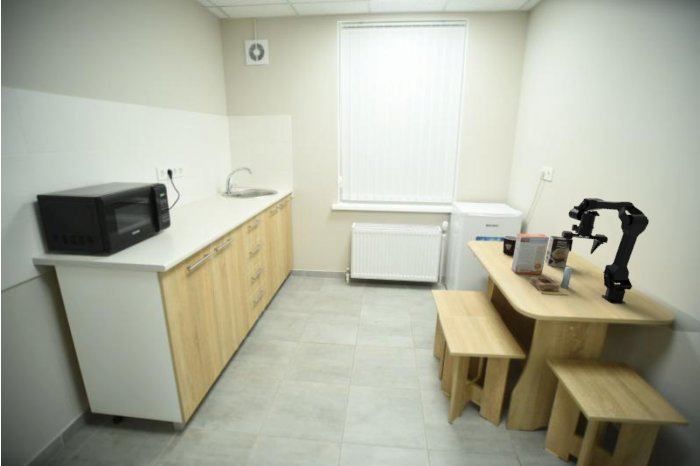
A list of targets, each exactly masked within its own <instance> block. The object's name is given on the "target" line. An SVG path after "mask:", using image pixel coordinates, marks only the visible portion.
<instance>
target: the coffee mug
mask: <svg viewBox="0 0 700 466" xmlns="http://www.w3.org/2000/svg"><path fill="white" fill-rule="evenodd" d="M516 238H517V236H512V235H505V236H503V243H502V244H503V245H502V246H503V247H502V252H503V253H502V254H504V255H508V256H514V250H515V244H516Z"/></svg>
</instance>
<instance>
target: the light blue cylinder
mask: <svg viewBox="0 0 700 466" xmlns="http://www.w3.org/2000/svg"><path fill="white" fill-rule="evenodd" d="M572 273H573V267H570V266H566V267H564V272H563V276H562V280H561V284H560V287H561V288H563V289H568V288H569V286H570V281H571V278H572Z"/></svg>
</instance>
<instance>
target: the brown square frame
mask: <svg viewBox="0 0 700 466" xmlns="http://www.w3.org/2000/svg"><path fill="white" fill-rule="evenodd" d="M529 283H530V285H531V286H532V287H533V288H534V289H535V290H536V291H538V292H539V290H541V291H542V292H559V290H560V287H561V284H559V283H558V282H556V281H555V280H554V279H552V278H551V277H549V276H548V277H547V276H531V277H530V281H529Z"/></svg>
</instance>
